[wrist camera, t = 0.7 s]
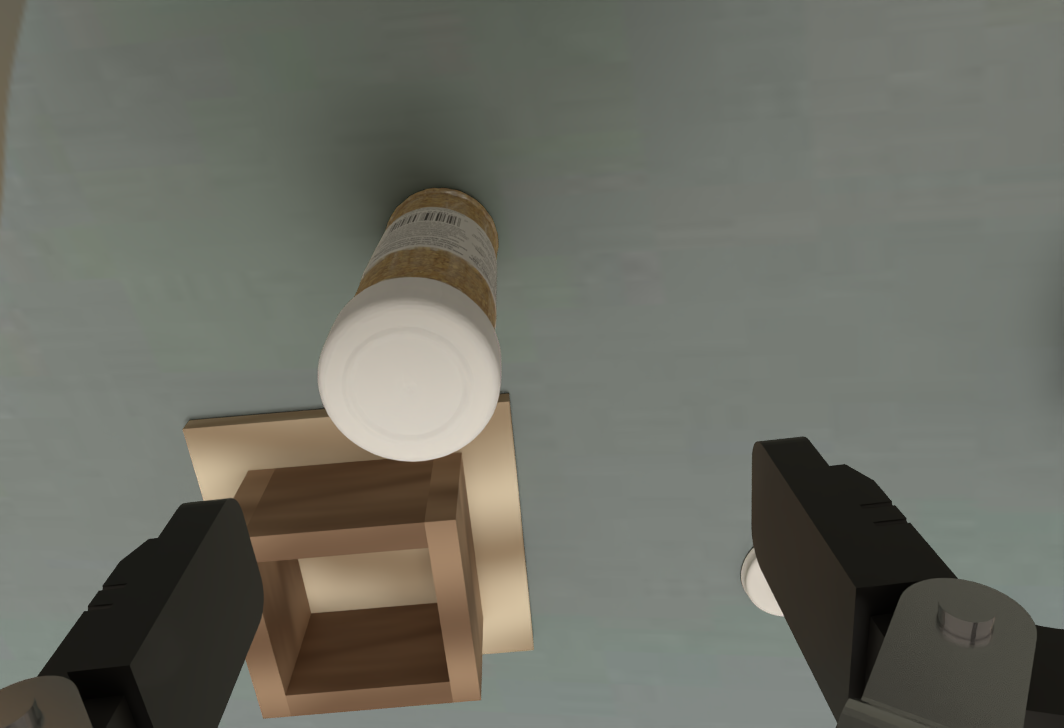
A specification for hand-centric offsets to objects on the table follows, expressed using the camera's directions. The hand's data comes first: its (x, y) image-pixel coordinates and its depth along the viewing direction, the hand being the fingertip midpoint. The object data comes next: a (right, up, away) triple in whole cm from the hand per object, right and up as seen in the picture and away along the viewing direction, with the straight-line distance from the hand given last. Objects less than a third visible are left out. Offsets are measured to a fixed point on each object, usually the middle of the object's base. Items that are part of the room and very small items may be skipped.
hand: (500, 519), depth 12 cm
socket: (-7, -6, +25) cm, 27 cm away
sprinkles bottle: (-3, +7, +19) cm, 21 cm away
